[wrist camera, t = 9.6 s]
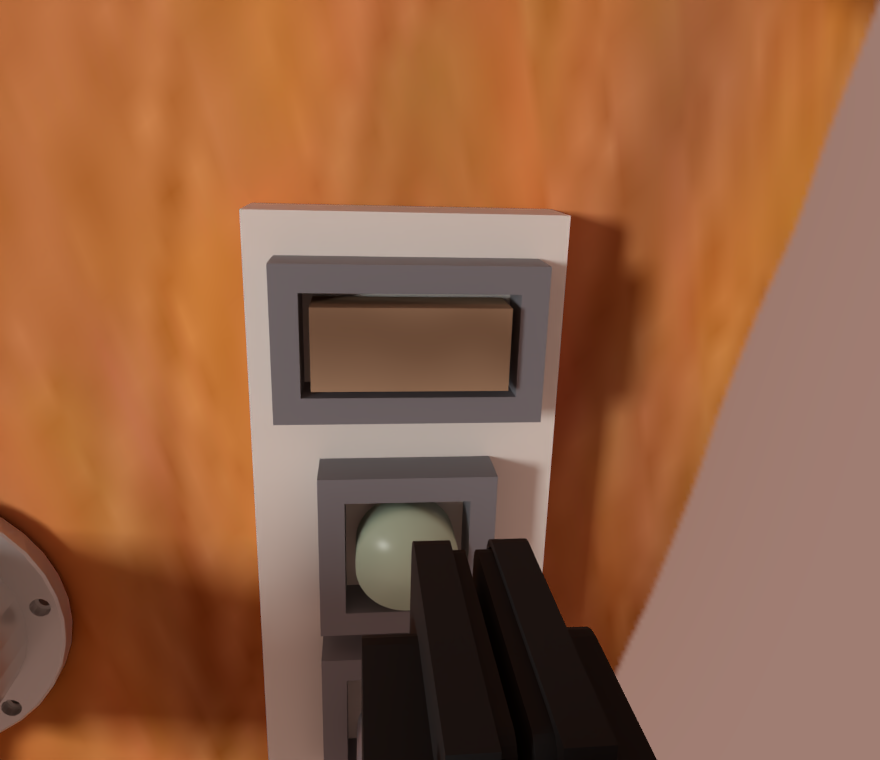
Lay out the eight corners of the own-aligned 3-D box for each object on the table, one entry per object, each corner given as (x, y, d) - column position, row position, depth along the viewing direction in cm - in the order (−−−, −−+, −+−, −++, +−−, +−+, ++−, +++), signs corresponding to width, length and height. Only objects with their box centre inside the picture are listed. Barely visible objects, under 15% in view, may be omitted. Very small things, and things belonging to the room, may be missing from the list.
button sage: (452, 580, 31) (458, 608, 29) (356, 583, 30) (355, 612, 28) (455, 493, 30) (461, 517, 28) (355, 495, 29) (355, 520, 27)
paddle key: (498, 374, 28) (508, 391, 26) (314, 375, 28) (310, 392, 26) (502, 297, 27) (512, 308, 25) (312, 296, 27) (308, 307, 25)
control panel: (513, 725, 38) (536, 808, 33) (276, 738, 37) (264, 827, 32) (550, 208, 30) (586, 220, 25) (251, 203, 29) (230, 214, 24)
